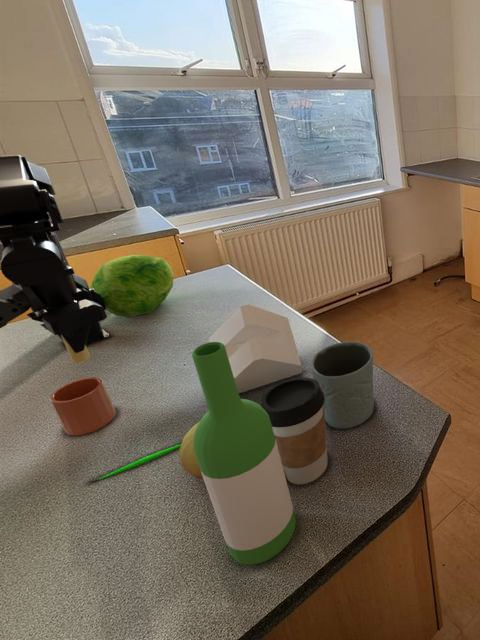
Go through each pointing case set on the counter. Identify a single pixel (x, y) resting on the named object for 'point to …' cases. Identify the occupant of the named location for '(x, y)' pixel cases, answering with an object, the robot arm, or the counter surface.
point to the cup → (83, 406)
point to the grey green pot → (345, 383)
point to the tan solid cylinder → (77, 354)
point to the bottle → (240, 464)
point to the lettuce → (133, 284)
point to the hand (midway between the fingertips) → (76, 349)
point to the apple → (189, 454)
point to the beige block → (258, 347)
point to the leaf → (143, 460)
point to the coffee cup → (298, 427)
